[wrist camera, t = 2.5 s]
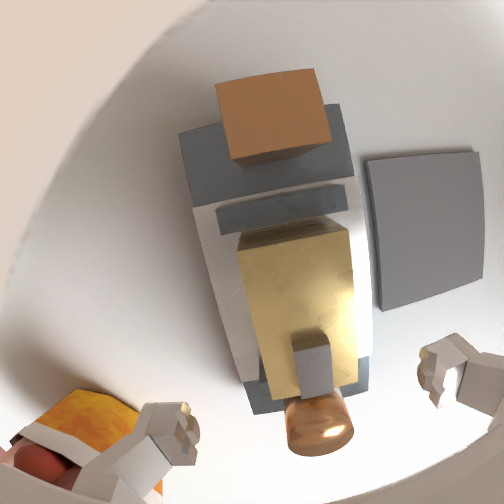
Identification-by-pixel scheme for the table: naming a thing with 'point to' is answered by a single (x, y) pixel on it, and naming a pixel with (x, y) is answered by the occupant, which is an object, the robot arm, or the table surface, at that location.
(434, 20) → the table surface
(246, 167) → the hand plane
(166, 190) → the table surface
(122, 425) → the fried chicken
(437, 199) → the mat
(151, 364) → the table surface
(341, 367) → the tan rectangular block
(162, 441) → the robot arm
